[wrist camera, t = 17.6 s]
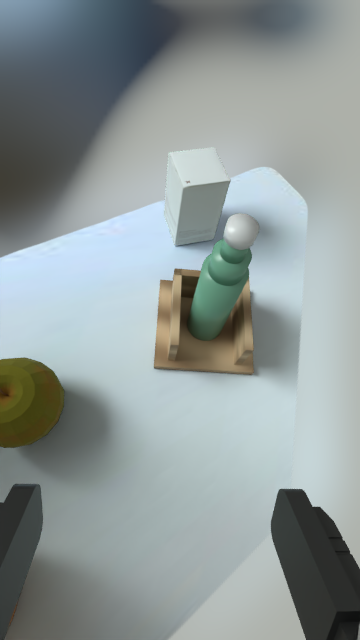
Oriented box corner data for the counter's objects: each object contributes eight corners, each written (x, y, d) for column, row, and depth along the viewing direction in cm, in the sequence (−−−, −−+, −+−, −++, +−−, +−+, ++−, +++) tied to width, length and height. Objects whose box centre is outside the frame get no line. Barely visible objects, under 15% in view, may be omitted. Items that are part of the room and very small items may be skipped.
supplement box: (214, 240, 57) (232, 181, 45) (173, 247, 55) (181, 187, 44) (202, 208, 60) (215, 145, 48) (162, 214, 58) (167, 150, 47)
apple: (-21, 396, 42) (-71, 371, 32) (51, 359, 45) (26, 326, 35) (8, 468, 39) (-38, 465, 29) (84, 423, 42) (66, 406, 32)
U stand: (160, 283, 52) (162, 256, 46) (246, 290, 53) (260, 265, 47) (153, 368, 46) (155, 351, 40) (251, 374, 47) (268, 359, 41)
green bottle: (179, 323, 48) (203, 223, 29) (203, 302, 50) (239, 196, 31) (205, 347, 47) (246, 259, 28) (228, 325, 49) (282, 228, 30)
